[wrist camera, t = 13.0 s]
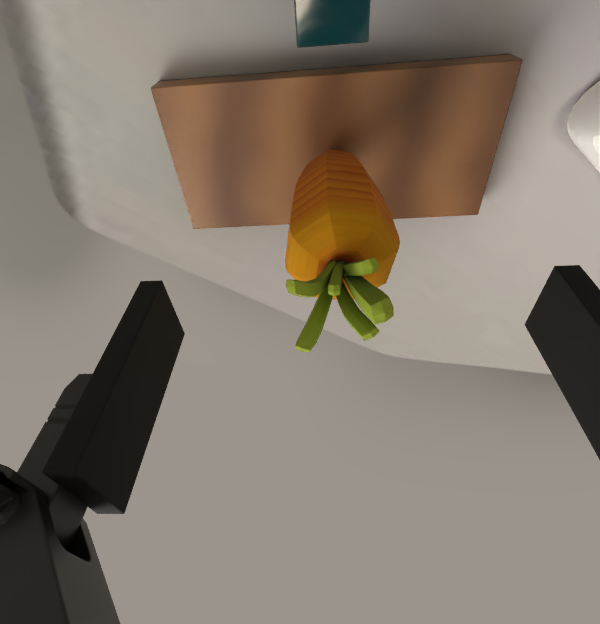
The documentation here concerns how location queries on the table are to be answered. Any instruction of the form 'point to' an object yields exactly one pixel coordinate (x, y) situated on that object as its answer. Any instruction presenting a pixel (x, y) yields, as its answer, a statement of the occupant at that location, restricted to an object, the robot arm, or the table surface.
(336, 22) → the pot
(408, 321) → the table surface
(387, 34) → the table surface
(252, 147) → the board
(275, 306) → the table surface
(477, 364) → the table surface
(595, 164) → the unicorn horn
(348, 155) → the carrot
